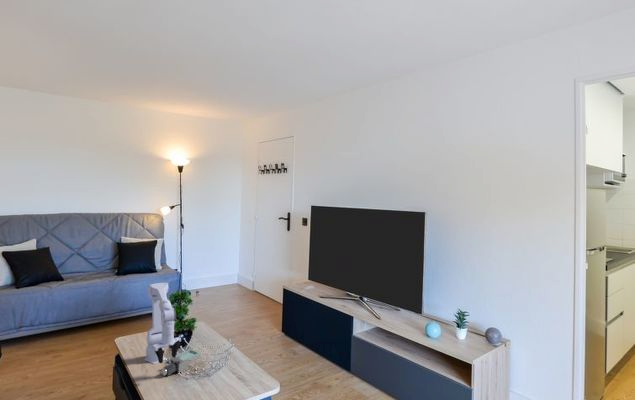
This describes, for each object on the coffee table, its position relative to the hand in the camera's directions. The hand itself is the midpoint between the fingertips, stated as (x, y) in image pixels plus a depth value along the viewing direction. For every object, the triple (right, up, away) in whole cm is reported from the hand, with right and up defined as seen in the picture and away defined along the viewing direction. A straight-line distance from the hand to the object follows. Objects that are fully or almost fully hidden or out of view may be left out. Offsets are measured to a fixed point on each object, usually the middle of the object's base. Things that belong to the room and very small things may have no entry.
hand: (167, 359), depth 181 cm
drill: (+1, -10, +7) cm, 12 cm away
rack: (+1, -9, +21) cm, 23 cm away
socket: (+2, -10, +9) cm, 13 cm away
